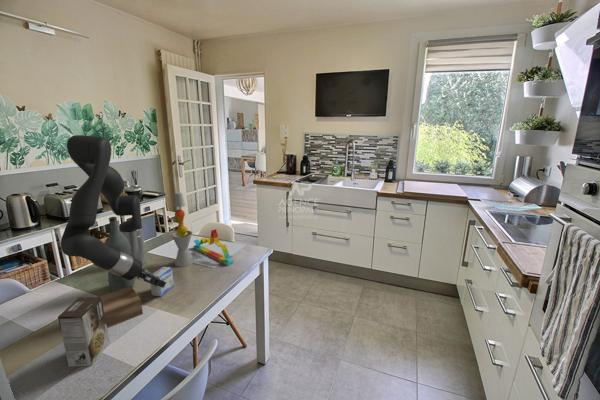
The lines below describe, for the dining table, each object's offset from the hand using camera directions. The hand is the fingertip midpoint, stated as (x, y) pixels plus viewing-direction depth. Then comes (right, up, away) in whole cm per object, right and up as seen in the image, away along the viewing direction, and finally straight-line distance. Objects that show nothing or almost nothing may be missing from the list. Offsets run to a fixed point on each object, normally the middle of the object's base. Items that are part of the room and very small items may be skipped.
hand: (159, 281), depth 114 cm
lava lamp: (0, +2, +26) cm, 26 cm away
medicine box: (+1, -4, +2) cm, 5 cm away
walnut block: (-8, -8, -12) cm, 17 cm away
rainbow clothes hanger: (+11, +3, +34) cm, 36 cm away
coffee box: (-5, -13, -30) cm, 33 cm away
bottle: (-17, -4, +4) cm, 18 cm away
